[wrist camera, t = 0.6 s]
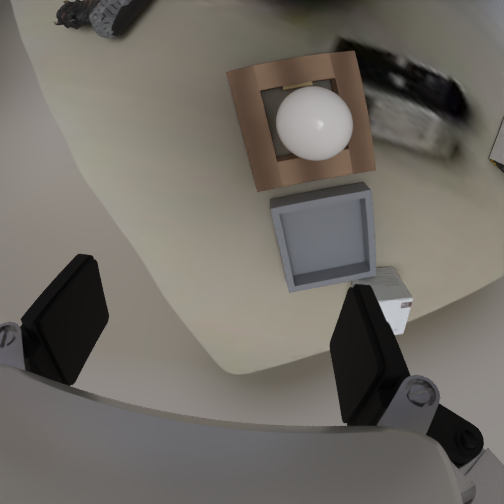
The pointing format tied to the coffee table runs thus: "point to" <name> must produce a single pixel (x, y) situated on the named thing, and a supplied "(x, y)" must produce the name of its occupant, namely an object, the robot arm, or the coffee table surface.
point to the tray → (326, 236)
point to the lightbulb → (314, 123)
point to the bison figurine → (100, 15)
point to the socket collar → (294, 76)
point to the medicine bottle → (498, 150)
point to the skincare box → (390, 296)
